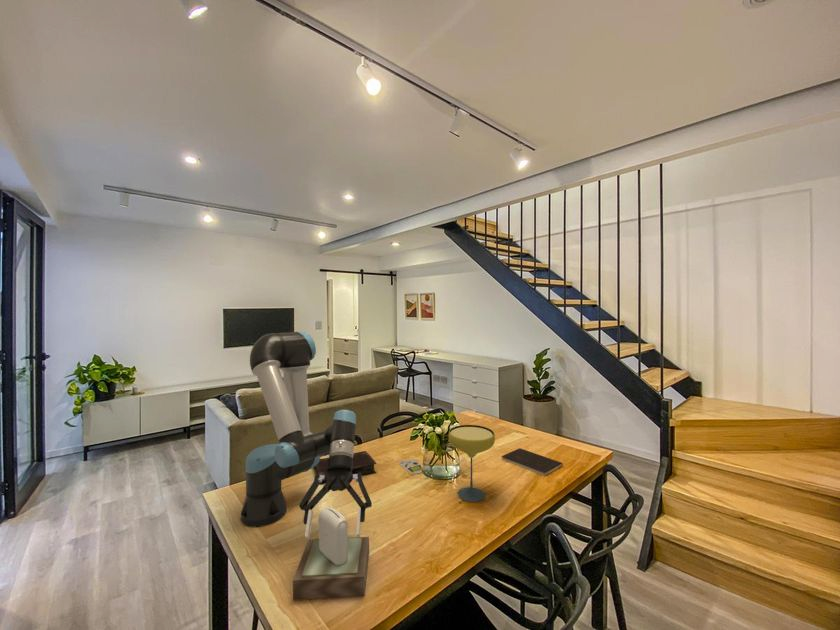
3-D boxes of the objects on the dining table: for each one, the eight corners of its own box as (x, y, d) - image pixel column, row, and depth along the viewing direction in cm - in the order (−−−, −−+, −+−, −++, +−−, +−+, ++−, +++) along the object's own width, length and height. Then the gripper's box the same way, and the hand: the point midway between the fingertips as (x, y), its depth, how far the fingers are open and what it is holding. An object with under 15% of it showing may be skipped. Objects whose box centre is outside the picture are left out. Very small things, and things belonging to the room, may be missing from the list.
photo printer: (316, 550, 101) (316, 507, 101) (329, 543, 104) (329, 501, 104) (336, 568, 94) (336, 522, 93) (350, 560, 97) (350, 515, 96)
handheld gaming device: (413, 457, 175) (428, 469, 162) (413, 459, 175) (428, 471, 162) (397, 461, 171) (411, 474, 158) (397, 463, 171) (411, 475, 158)
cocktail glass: (502, 504, 134) (502, 438, 134) (456, 510, 130) (456, 442, 130) (483, 481, 152) (484, 423, 151) (443, 486, 148) (443, 426, 147)
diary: (313, 469, 165) (313, 458, 165) (365, 459, 176) (365, 449, 176) (319, 486, 148) (319, 474, 148) (377, 475, 159) (377, 463, 159)
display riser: (293, 599, 90) (292, 578, 90) (308, 555, 106) (308, 538, 106) (364, 595, 92) (364, 575, 91) (369, 553, 107) (369, 535, 107)
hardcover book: (544, 477, 156) (544, 472, 156) (501, 460, 174) (501, 456, 174) (562, 467, 167) (562, 462, 167) (520, 452, 184) (520, 447, 184)
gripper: (297, 454, 107) (282, 535, 93) (380, 452, 109) (378, 531, 95) (302, 464, 113) (288, 542, 98) (381, 461, 115) (379, 537, 100)
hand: (332, 536), depth 96 cm, fingers open, 13 cm apart
